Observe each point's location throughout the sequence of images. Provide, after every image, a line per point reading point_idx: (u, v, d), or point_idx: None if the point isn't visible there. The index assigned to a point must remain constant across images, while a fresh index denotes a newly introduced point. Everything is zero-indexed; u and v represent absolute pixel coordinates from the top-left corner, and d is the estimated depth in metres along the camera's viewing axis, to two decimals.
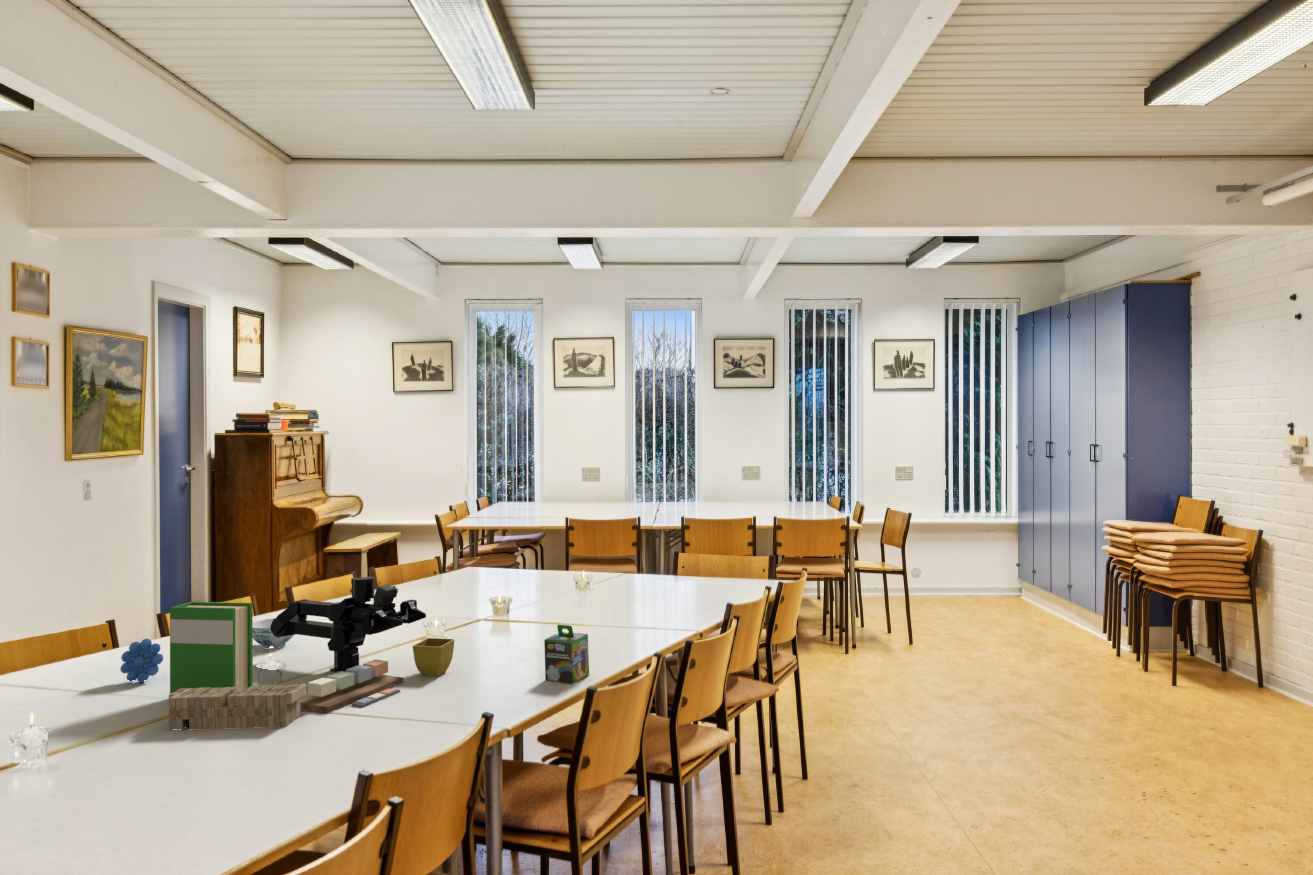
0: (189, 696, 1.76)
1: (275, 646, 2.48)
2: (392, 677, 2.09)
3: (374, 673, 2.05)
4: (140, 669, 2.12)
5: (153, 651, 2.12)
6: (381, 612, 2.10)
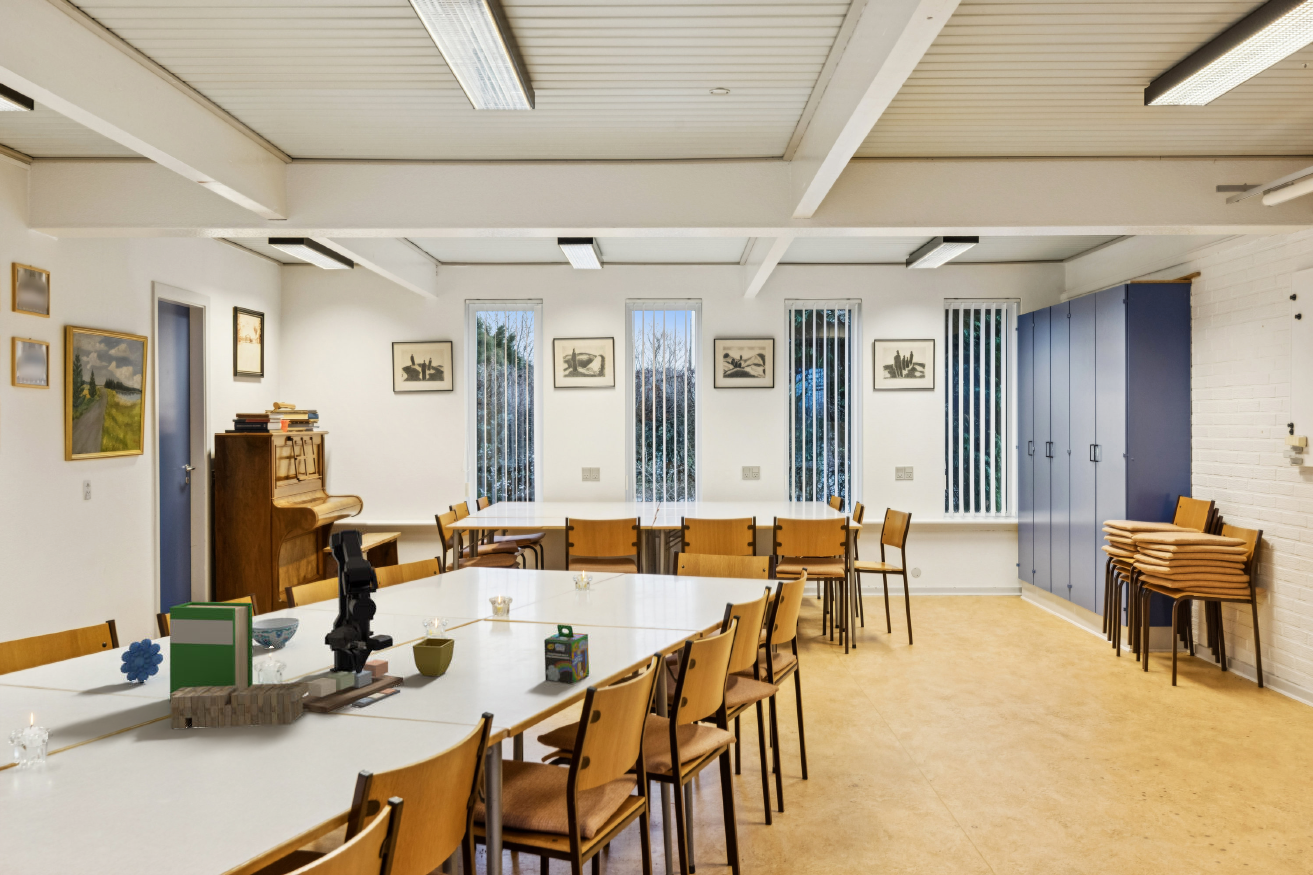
0: (192, 695, 1.77)
1: (275, 646, 2.48)
2: (392, 677, 2.09)
3: (374, 673, 2.05)
4: (140, 669, 2.12)
5: (153, 651, 2.12)
6: (347, 650, 2.01)
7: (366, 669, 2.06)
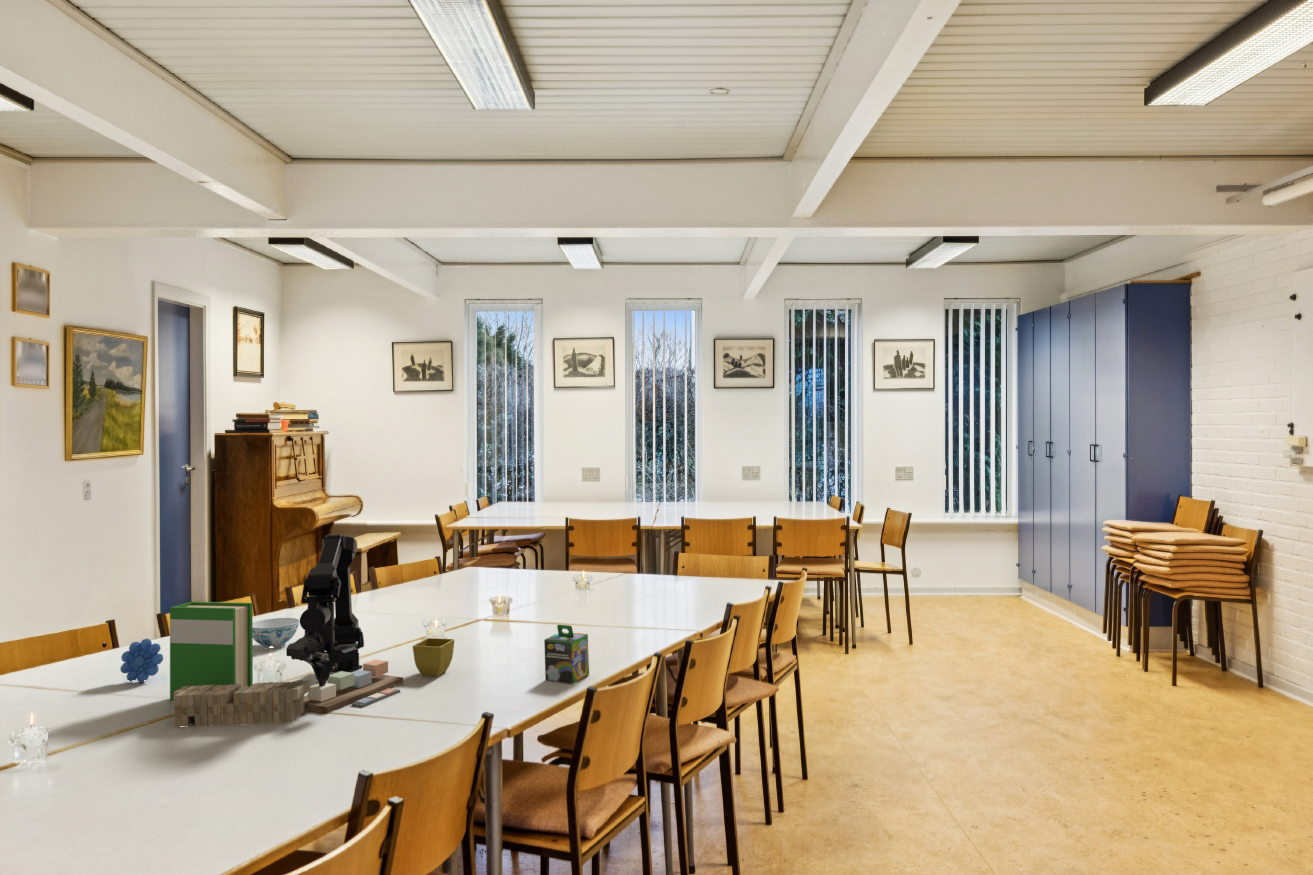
0: (194, 693, 1.78)
1: (275, 646, 2.48)
2: (392, 677, 2.09)
3: (374, 673, 2.05)
4: (140, 669, 2.12)
5: (153, 651, 2.12)
6: (310, 662, 1.90)
7: (366, 669, 2.06)
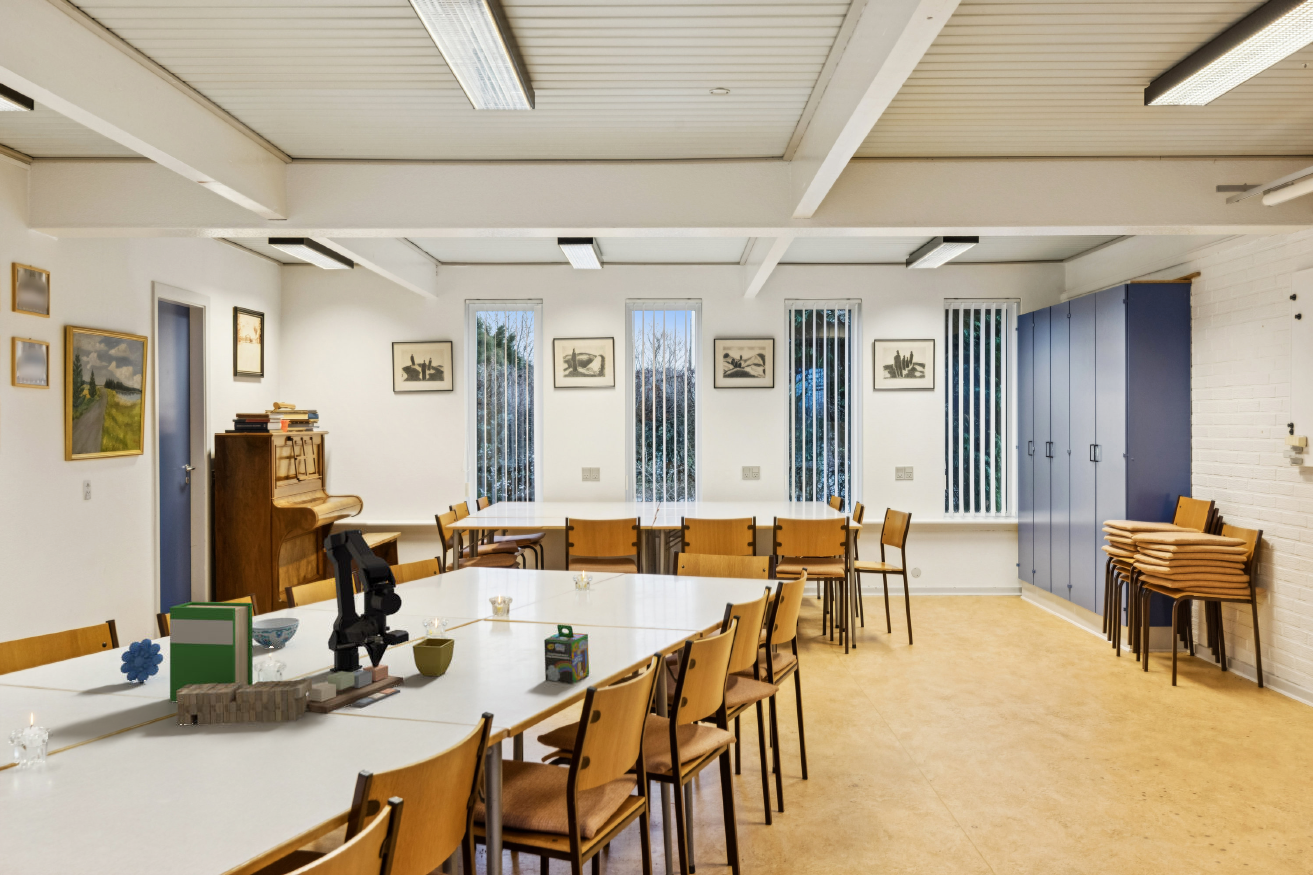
0: (197, 692, 1.80)
1: (275, 646, 2.48)
2: (392, 677, 2.09)
3: (374, 677, 2.05)
4: (140, 669, 2.12)
5: (153, 651, 2.12)
6: (364, 645, 2.07)
7: None
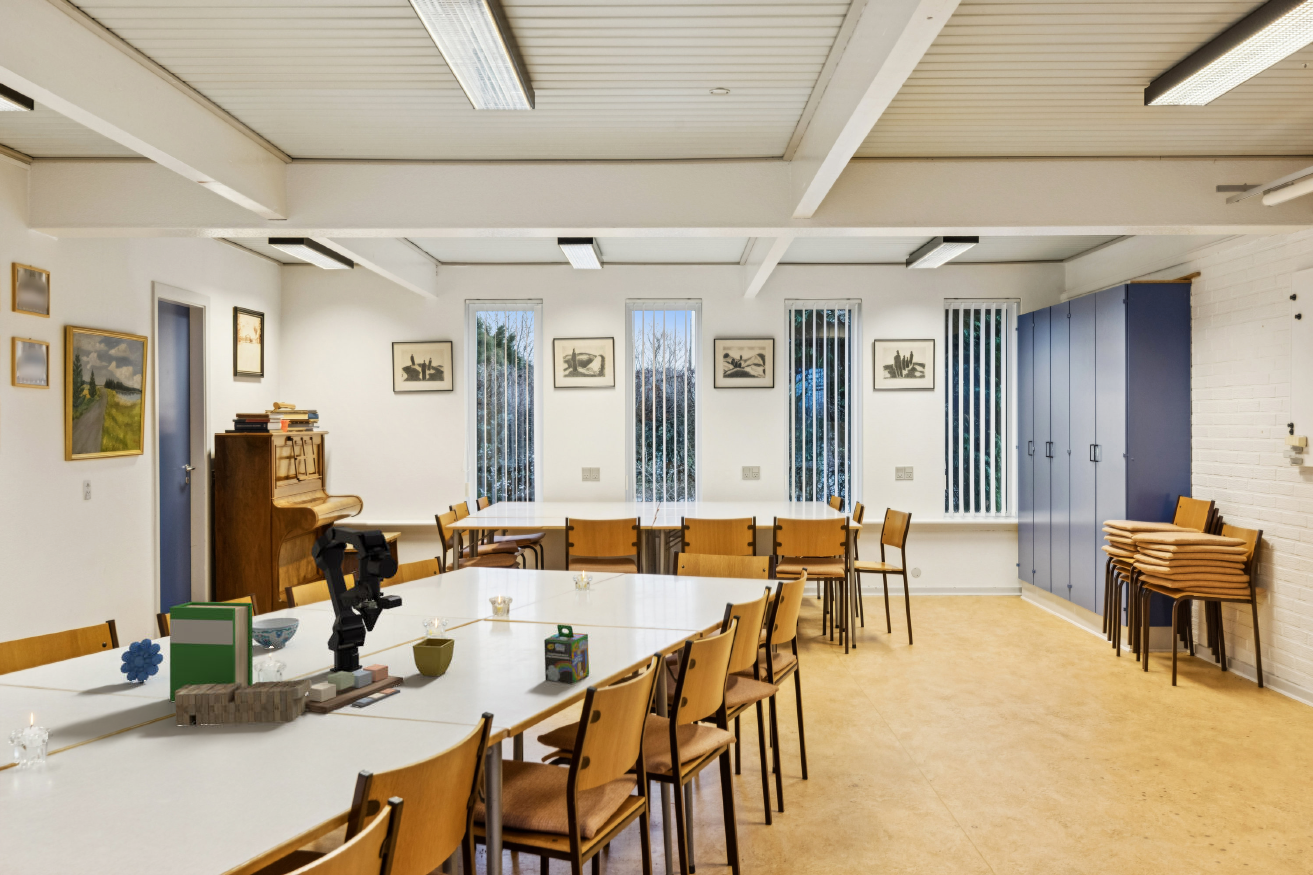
0: (196, 692, 1.79)
1: (275, 646, 2.48)
2: (392, 677, 2.09)
3: (374, 677, 2.05)
4: (140, 669, 2.12)
5: (153, 651, 2.12)
6: (359, 609, 2.13)
7: None
